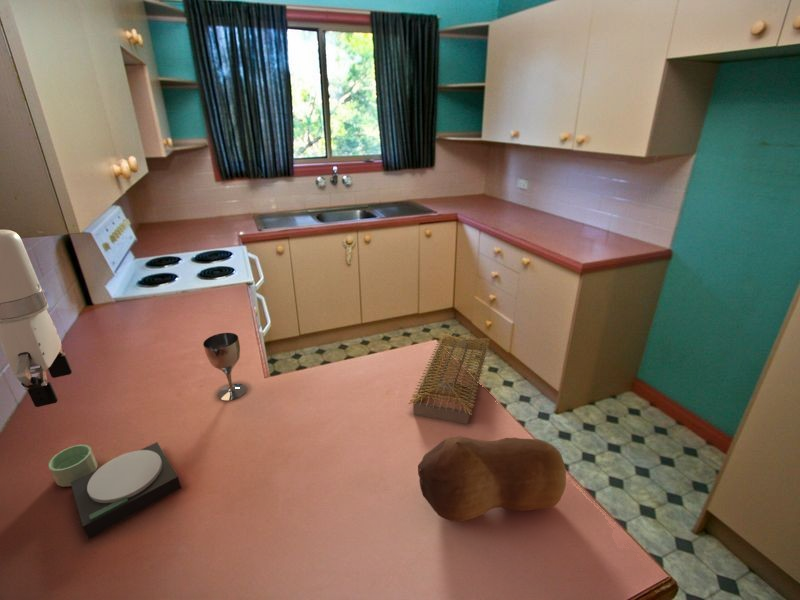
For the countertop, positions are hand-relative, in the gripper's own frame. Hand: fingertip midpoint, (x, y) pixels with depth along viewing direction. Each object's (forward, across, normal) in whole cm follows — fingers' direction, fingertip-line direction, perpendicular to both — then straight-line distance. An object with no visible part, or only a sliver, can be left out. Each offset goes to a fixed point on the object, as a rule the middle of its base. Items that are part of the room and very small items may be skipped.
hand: (55, 389), depth 78 cm
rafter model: (+20, +5, +82) cm, 85 cm away
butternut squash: (+13, +36, +56) cm, 68 cm away
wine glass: (+20, -15, +28) cm, 37 cm away
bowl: (+19, +1, -2) cm, 19 cm away
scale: (+19, +10, +8) cm, 23 cm away
